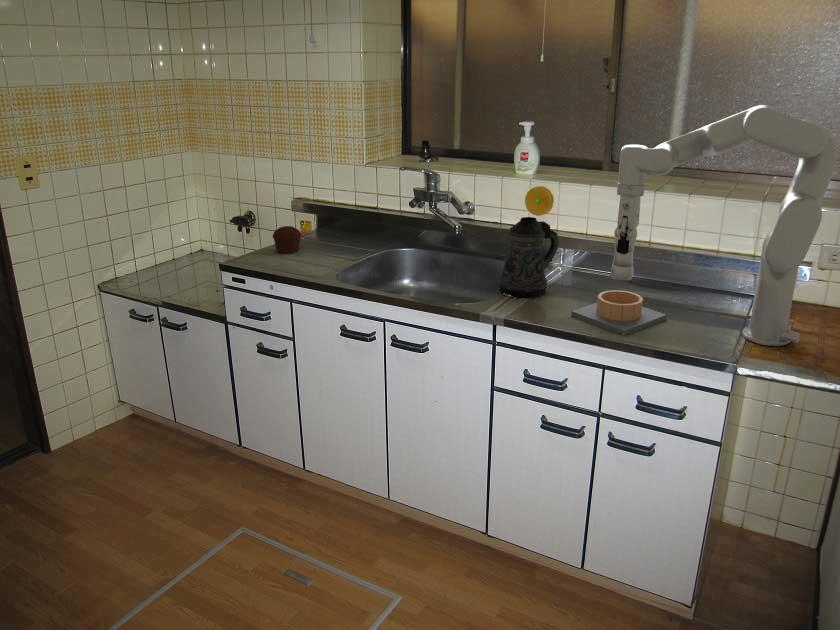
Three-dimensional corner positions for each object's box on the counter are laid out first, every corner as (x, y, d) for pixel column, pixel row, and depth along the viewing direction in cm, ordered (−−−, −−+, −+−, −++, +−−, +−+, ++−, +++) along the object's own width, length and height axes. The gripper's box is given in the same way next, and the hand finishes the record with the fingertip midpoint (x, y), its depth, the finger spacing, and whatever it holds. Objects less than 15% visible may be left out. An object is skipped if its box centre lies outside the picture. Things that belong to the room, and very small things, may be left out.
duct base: (666, 319, 216) (668, 299, 214) (624, 335, 205) (626, 314, 203) (613, 301, 231) (614, 282, 229) (571, 315, 220) (572, 295, 217)
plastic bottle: (637, 282, 212) (644, 216, 204) (617, 284, 210) (623, 217, 203) (625, 275, 217) (632, 211, 210) (605, 277, 216) (611, 212, 208)
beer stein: (488, 291, 242) (489, 219, 232) (522, 277, 254) (525, 209, 245) (527, 302, 231) (531, 227, 222) (561, 288, 243) (566, 216, 234)
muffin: (270, 255, 285) (268, 230, 281) (276, 247, 295) (274, 223, 291) (300, 255, 284) (298, 230, 281) (305, 247, 295) (303, 223, 291)
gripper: (639, 196, 195) (632, 259, 201) (648, 184, 209) (641, 243, 216) (611, 194, 198) (606, 256, 204) (622, 182, 212) (616, 241, 219)
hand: (624, 249), depth 210 cm, fingers closed on plastic bottle, 6 cm apart
